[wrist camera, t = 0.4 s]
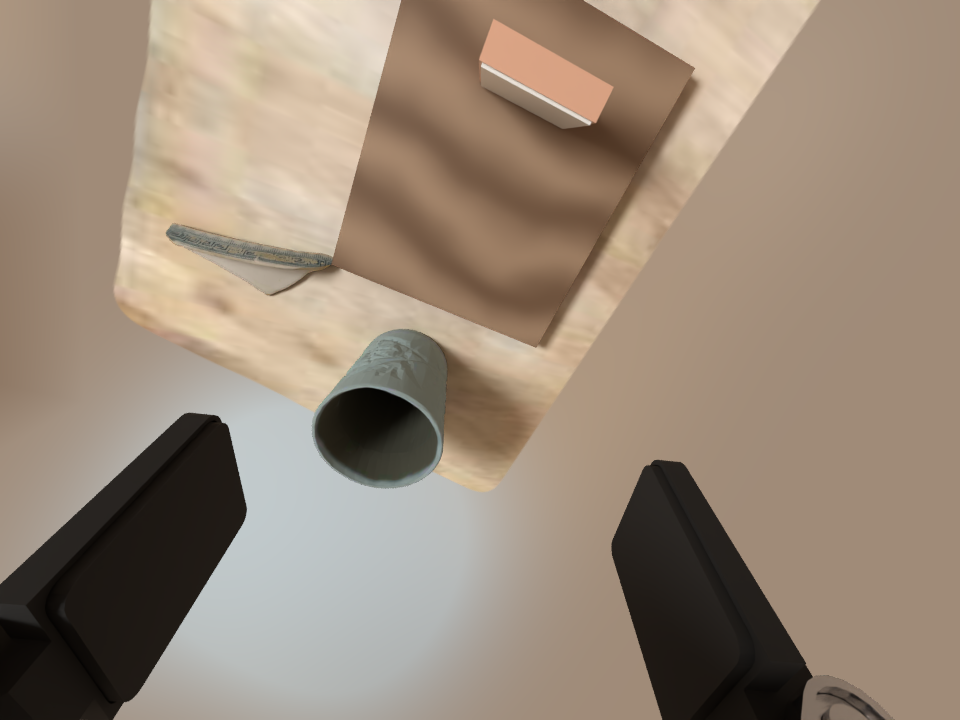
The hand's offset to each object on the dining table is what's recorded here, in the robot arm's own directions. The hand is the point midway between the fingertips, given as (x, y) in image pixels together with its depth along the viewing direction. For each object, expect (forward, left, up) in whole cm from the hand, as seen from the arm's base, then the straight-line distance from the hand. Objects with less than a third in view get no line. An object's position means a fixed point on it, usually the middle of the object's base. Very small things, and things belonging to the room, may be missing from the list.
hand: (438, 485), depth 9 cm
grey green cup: (+15, -1, -30) cm, 33 cm away
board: (-5, 0, -29) cm, 30 cm away
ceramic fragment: (+9, -17, -30) cm, 36 cm away
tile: (-11, 0, -28) cm, 30 cm away
